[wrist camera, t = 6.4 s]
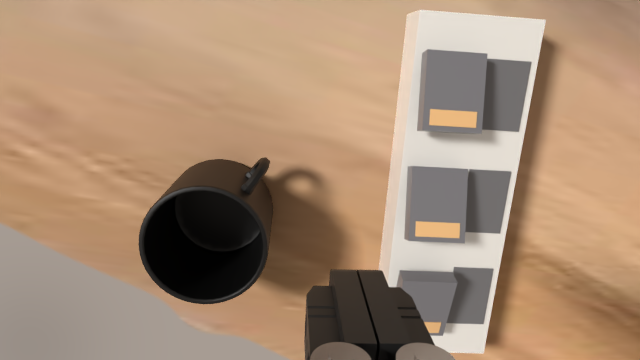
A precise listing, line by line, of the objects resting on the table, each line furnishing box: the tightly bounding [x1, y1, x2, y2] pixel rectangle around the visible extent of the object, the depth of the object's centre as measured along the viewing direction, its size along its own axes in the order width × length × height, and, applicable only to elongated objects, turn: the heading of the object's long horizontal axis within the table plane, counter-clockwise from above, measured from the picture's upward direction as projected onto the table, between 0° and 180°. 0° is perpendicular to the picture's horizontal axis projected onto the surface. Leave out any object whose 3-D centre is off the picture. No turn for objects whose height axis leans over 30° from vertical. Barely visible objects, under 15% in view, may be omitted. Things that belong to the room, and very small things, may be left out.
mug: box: [139, 157, 273, 304], centre depth 38 cm, size 9×12×9 cm
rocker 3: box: [396, 270, 457, 336], centre depth 40 cm, size 6×5×2 cm
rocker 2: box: [404, 166, 468, 243], centre depth 37 cm, size 6×5×2 cm
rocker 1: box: [417, 49, 487, 134], centre depth 35 cm, size 6×5×2 cm
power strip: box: [379, 10, 546, 353], centre depth 41 cm, size 30×10×4 cm, turn 176°
